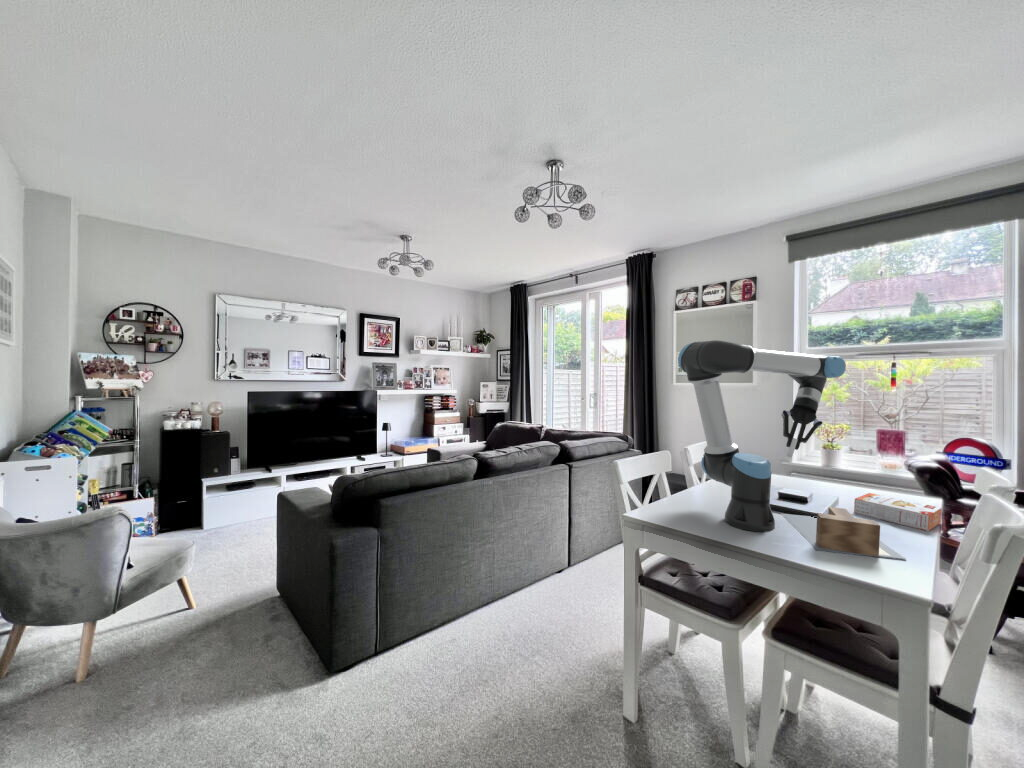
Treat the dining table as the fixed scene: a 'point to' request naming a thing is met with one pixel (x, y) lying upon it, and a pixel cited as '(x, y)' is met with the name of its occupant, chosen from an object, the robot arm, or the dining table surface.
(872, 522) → the t block
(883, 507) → the cracker box
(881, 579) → the dining table surface
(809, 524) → the mat
